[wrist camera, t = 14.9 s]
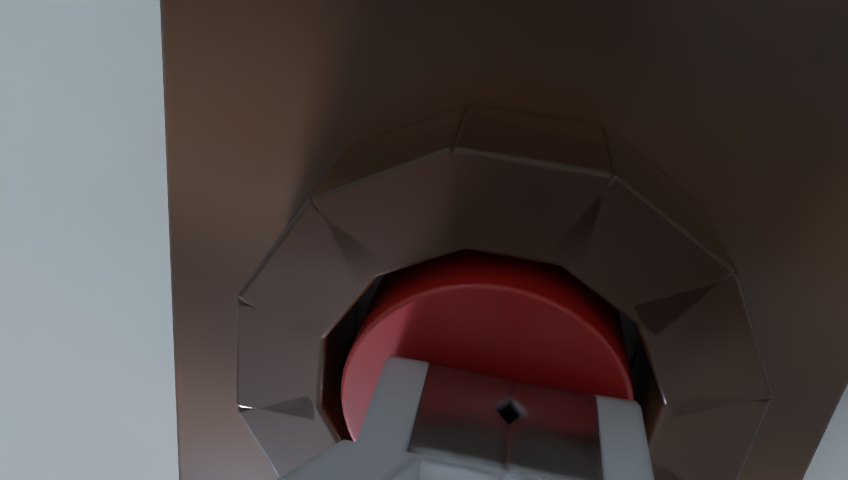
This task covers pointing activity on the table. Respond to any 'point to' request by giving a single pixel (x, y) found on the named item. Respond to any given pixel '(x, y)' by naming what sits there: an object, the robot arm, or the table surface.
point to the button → (489, 328)
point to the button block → (511, 204)
